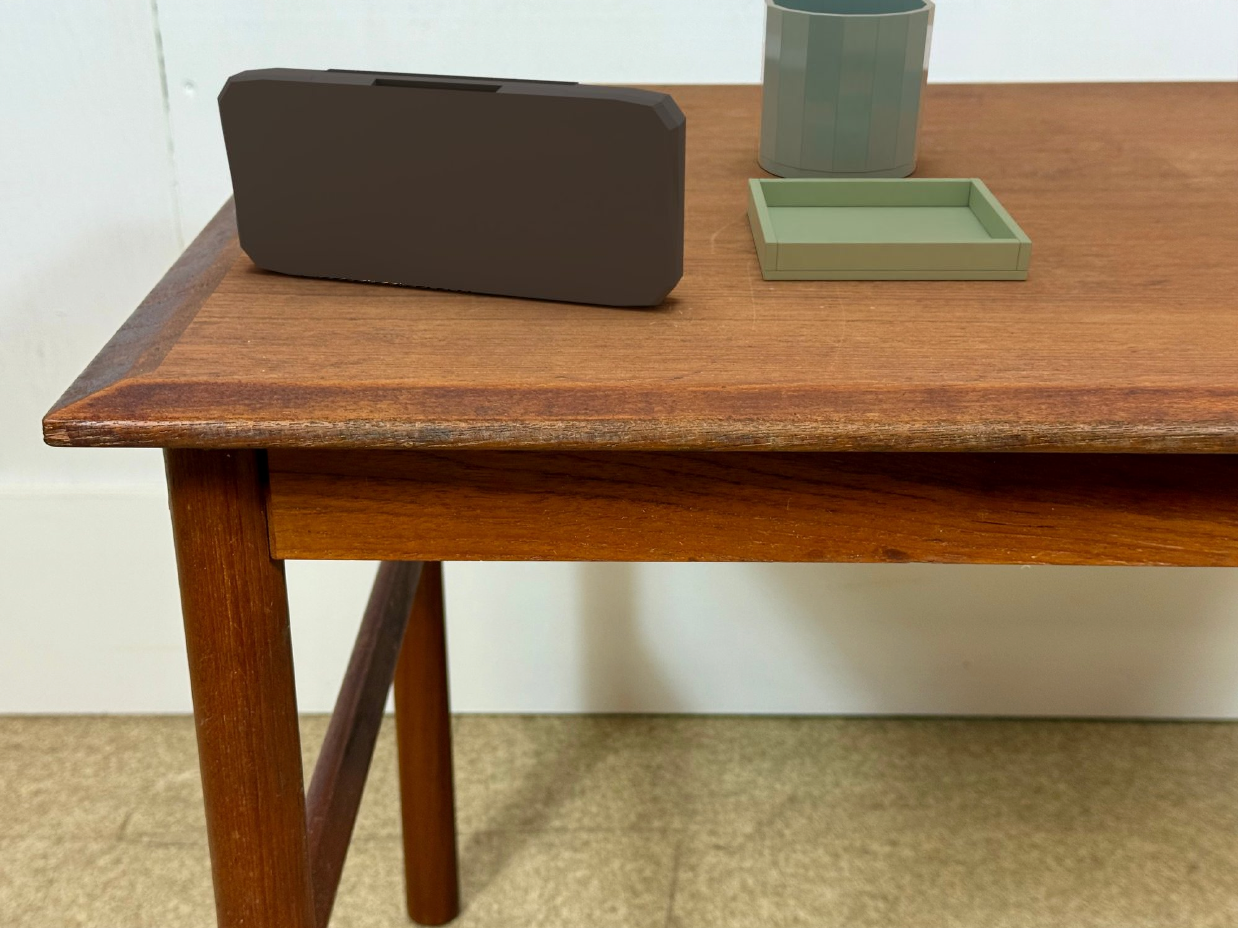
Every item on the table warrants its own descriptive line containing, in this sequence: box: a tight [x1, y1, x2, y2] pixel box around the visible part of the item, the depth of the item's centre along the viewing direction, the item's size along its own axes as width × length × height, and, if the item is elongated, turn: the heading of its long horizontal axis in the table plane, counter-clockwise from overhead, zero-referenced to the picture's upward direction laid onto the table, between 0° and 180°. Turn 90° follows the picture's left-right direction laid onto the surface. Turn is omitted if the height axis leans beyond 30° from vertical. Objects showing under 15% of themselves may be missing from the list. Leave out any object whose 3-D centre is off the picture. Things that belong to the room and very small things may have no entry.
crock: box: [757, 0, 936, 179], centre depth 80 cm, size 10×10×10 cm
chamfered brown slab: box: [216, 67, 687, 307], centre depth 61 cm, size 23×3×10 cm, turn 75°
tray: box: [746, 177, 1033, 281], centre depth 68 cm, size 13×11×2 cm
